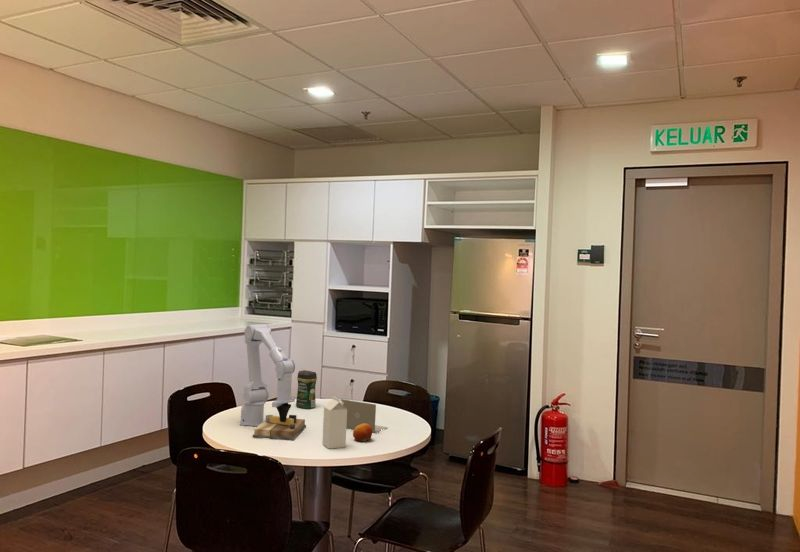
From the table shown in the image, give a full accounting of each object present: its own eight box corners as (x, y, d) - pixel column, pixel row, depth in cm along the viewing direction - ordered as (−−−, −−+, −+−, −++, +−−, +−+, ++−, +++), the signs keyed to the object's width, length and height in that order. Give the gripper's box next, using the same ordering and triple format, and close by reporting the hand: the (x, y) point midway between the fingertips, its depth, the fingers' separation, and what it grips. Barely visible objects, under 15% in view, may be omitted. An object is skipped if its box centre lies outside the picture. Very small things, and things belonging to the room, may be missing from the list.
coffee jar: (293, 407, 299) (294, 370, 299) (304, 404, 305) (305, 368, 305) (307, 410, 293) (309, 372, 293) (318, 407, 300) (319, 371, 300)
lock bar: (263, 421, 251) (264, 416, 251) (268, 420, 254) (268, 414, 254) (289, 425, 246) (290, 420, 246) (294, 424, 249) (294, 418, 249)
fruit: (368, 441, 236) (361, 422, 239) (354, 448, 240) (347, 429, 242) (380, 437, 243) (372, 418, 246) (366, 444, 247) (358, 426, 249)
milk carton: (328, 449, 228) (330, 400, 228) (322, 444, 234) (324, 396, 234) (345, 447, 231) (347, 399, 231) (338, 442, 237) (341, 395, 238)
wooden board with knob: (252, 437, 239) (253, 421, 239) (268, 424, 261) (268, 410, 261) (293, 440, 238) (294, 424, 238) (305, 427, 260) (306, 412, 260)
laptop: (388, 429, 265) (389, 400, 265) (374, 435, 253) (375, 404, 254) (353, 423, 273) (355, 394, 273) (339, 428, 262) (340, 399, 262)
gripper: (283, 392, 239) (281, 426, 239) (301, 387, 253) (300, 419, 252) (268, 390, 242) (266, 424, 241) (287, 385, 255) (285, 417, 255)
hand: (282, 421), depth 247 cm, fingers closed, pressing on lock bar
